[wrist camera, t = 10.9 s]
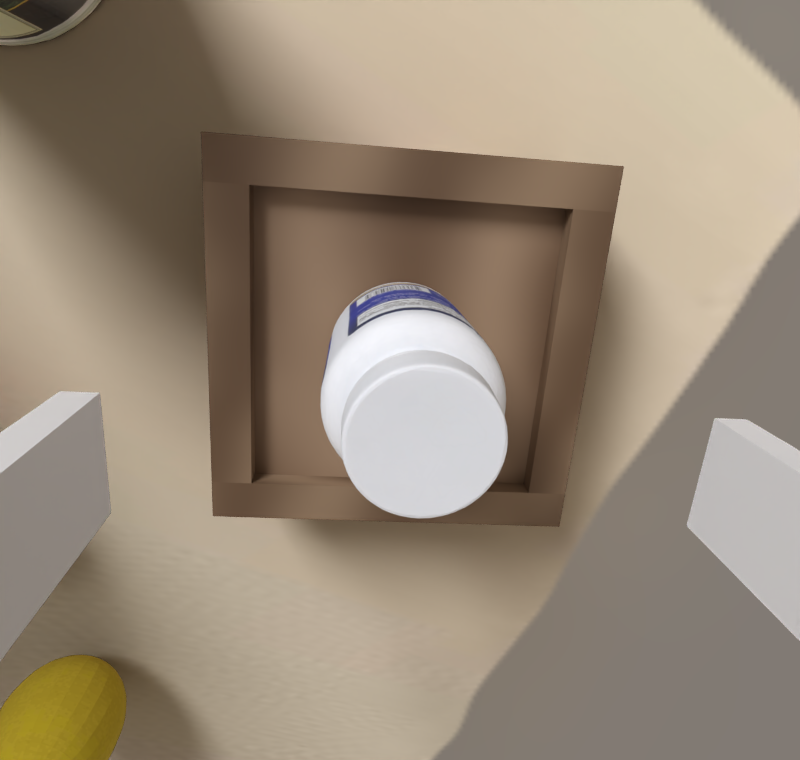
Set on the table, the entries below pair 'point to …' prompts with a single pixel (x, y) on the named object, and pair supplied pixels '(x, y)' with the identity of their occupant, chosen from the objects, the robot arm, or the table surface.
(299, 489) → the tray
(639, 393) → the table surface
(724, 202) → the table surface
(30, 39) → the coffee can
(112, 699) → the lemon
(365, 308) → the pill bottle
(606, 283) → the table surface
